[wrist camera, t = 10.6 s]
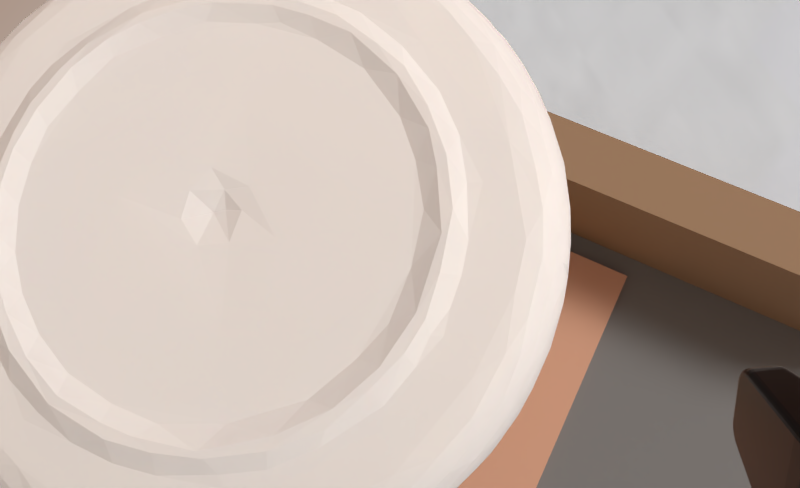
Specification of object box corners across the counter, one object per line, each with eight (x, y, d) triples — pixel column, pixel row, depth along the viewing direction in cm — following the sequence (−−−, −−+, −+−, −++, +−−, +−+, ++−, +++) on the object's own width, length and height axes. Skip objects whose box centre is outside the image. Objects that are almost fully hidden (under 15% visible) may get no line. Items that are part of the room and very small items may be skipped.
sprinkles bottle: (410, 236, 18) (249, -219, 5) (543, 368, 17) (751, 202, 4) (276, 365, 18) (-255, 211, 5) (404, 508, 17) (157, 803, 4)
